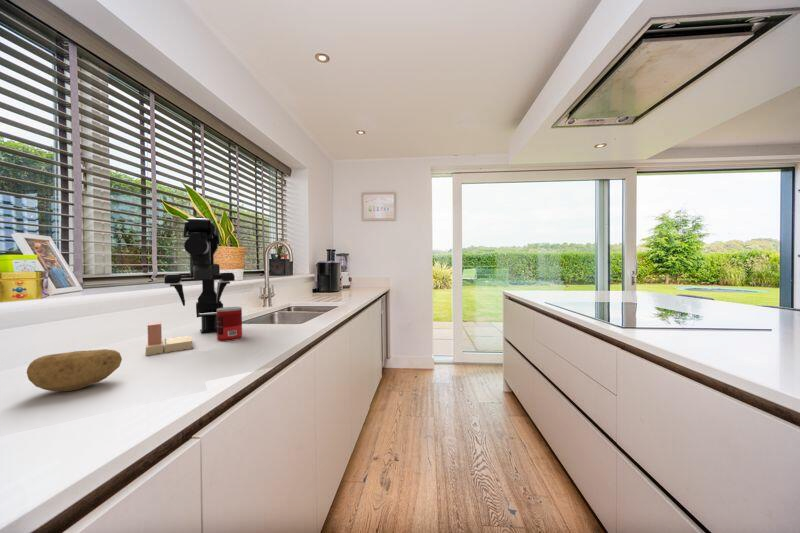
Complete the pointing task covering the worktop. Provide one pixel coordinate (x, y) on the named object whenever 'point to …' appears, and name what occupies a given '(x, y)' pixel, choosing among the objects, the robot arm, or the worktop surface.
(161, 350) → the stub
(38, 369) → the potato
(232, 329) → the canned food
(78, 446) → the worktop surface
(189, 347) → the hinged cream panel
